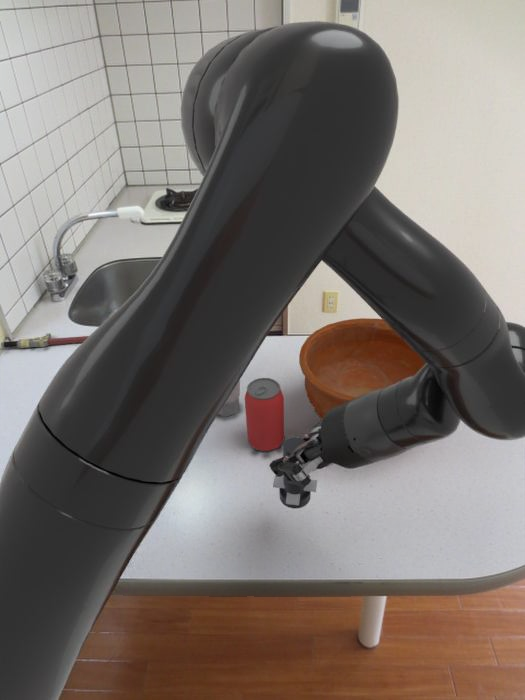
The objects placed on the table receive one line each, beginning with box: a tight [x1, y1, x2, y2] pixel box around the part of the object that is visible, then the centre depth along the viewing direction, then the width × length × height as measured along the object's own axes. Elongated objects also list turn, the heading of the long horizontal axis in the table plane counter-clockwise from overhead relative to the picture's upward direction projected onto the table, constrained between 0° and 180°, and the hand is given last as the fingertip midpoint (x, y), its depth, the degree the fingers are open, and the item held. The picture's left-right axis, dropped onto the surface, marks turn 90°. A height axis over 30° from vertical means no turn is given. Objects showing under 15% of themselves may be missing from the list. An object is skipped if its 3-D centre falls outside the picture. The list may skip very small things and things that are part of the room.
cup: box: [218, 379, 241, 417], centre depth 98 cm, size 7×7×12 cm
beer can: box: [244, 377, 285, 452], centre depth 91 cm, size 7×7×12 cm
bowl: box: [298, 317, 426, 421], centre depth 93 cm, size 25×25×15 cm
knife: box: [0, 332, 90, 349], centre depth 124 cm, size 29×2×5 cm
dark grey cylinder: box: [272, 436, 318, 509], centre depth 72 cm, size 6×6×10 cm
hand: (282, 460), depth 72 cm, fingers closed on dark grey cylinder, 3 cm apart
